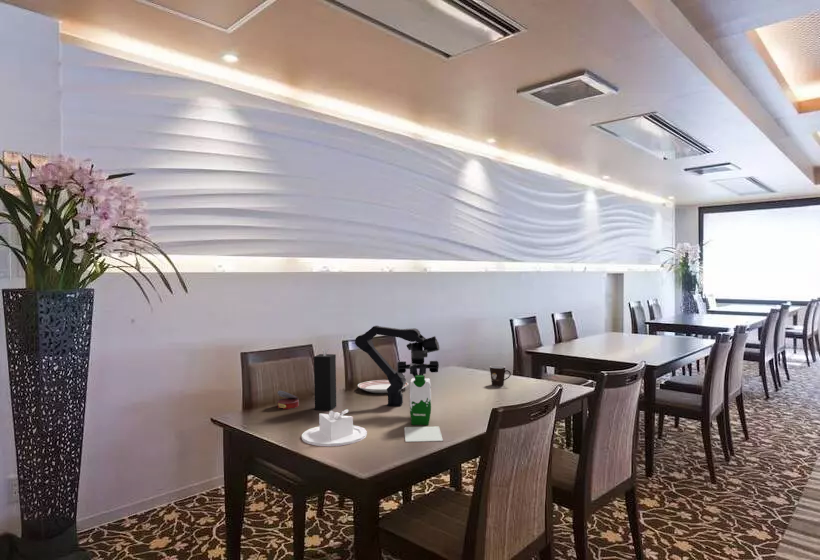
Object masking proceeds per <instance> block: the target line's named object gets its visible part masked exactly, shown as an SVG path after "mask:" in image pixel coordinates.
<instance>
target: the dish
mask: <svg viewBox="0 0 820 560" xmlns="http://www.w3.org/2000/svg"><path fill="white" fill-rule="evenodd" d="M347 413H349V409H348V408H347V409H344V410H342V411H341V412H338V411H336V412H335V411H334V410H329V411H328V413H319V415H318V419H319V420H318V422H319V425H318V426H315V427H311V428H308V429H306V430H305V431H304V432H303V433H302V434H301V439H302V442H303V443H305V444H308V445H313V446H317V447H341V446H346V445H352V444H355V443H356V444H357V443H358V442H361V441H363V440H364V439H365V438H366V437H367V435H368V431H367V430H366V428H365V427H362V426H359V425H355V424H354V416H351V415H345V414H347Z"/></svg>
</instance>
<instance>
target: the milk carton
mask: <svg viewBox="0 0 820 560" xmlns="http://www.w3.org/2000/svg"><path fill="white" fill-rule="evenodd" d="M431 389H432V384H431V379H430V377H428V378H426V377H425V374H423V375H419V374H418V375H416V376H415V377H412V378H411V379H410V382H409V414H410V415H409V416H410V421H411V426H429V425H430V420H431V413H432V390H431Z"/></svg>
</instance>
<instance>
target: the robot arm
mask: <svg viewBox="0 0 820 560" xmlns="http://www.w3.org/2000/svg"><path fill="white" fill-rule="evenodd" d="M378 335H379V336H384V337H385V336H387V337H393V338H400V339H402V340H404V341H408V342H409V343H407V344H406V348H407V349H408V351H410V358H411V362H410V363H409V364H407V361H404V360H403V361H401V360H399V361H398V362H397V364H396V365H397V367H396V368H397V370H395V369H394V368H393V367H392V366H391V365H390V364H389V362H388V361H387V360H386V359H385V357H383V356H382V355H381V353H380V352H379V351H378V349H377V348H376V347H375V346H374V342H373V341H372V339H374V338H375V337H376V336H378ZM354 340H355V341H354V343H355V346H356V347H357V348H358V349H360V350H361V351H363V352H365V353H366V354H368V356H369V357H370V358H371V360H373V362H374V363H375V364H376V366H378V368H379V369H380V370H381V371H382V372H383V373H384V375H385V376H386V378H387V380H389V383H390V384H391V385H390V386H389V387H388V388H387V392H388V393H387V404H386V406H388V407H390V406H391V407H402V405H403V404H404V394H403V392H402V387H403V386H404V385H405V384H406V382H407V379H406V378H405V377H406V375H404V374H405V373H406V372H407V370H409V374H410V375H412V376H413V378H415V376H416V375H425V374H427V369H429V372H430V373H439V363H440V362H439V360H429V363H425V358H428V354H429V353H434V352H438V351H440V344H439V341H438V339H437V336H436V335H434V336H432V337H427V338H426V337H425V336H424V335H422V334H421V331H420V330H419V329H418V328H395V327H394V328H393V327H386V326H379V325H373V326H371V328H370V329H369V330H367V331H365V332H364V333H363V334H360V335H358V336H357V337H356V338H355V339H354Z"/></svg>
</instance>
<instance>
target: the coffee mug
mask: <svg viewBox="0 0 820 560" xmlns="http://www.w3.org/2000/svg"><path fill="white" fill-rule="evenodd" d="M489 372H490V373H489V374H490V379H491V380H490V381H491V386H493V387H503V386H504V384H505V381H506V380H508V379H509V378H510V377H511V375H512V374H511V371H510V370H508V369H506V366H505V365H490V366H489ZM506 372H507V373H509V375H508V376H507V377H506V378H505V376H506V375H505V374H506Z"/></svg>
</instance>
